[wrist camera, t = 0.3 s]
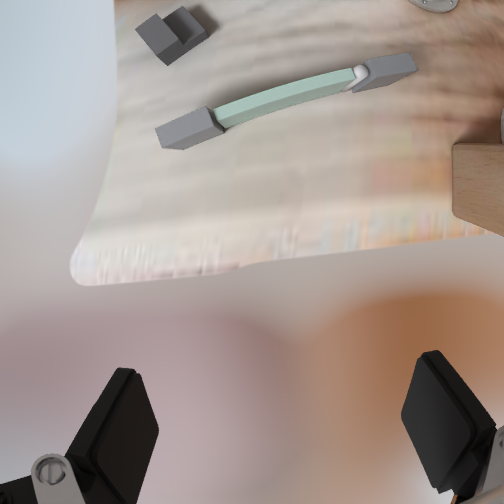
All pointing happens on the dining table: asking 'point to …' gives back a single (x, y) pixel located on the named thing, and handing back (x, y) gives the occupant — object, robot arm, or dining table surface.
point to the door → (289, 95)
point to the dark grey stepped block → (172, 34)
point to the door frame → (206, 125)
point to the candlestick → (502, 126)
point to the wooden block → (479, 184)
